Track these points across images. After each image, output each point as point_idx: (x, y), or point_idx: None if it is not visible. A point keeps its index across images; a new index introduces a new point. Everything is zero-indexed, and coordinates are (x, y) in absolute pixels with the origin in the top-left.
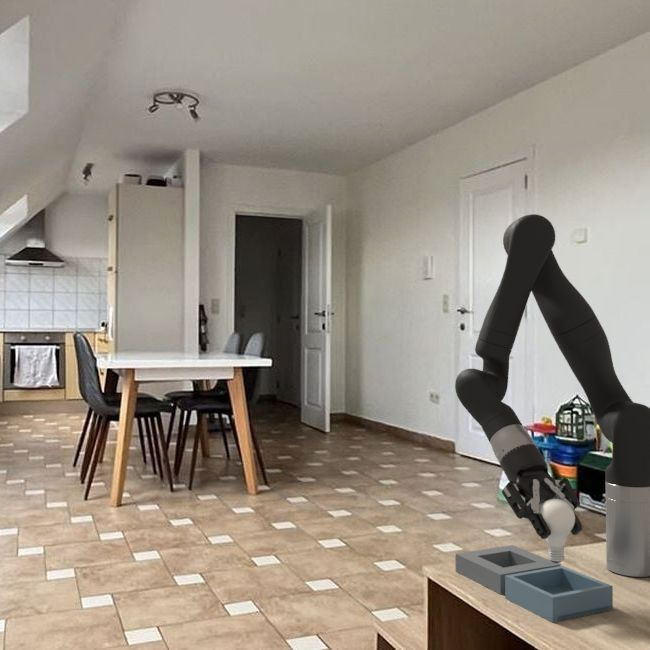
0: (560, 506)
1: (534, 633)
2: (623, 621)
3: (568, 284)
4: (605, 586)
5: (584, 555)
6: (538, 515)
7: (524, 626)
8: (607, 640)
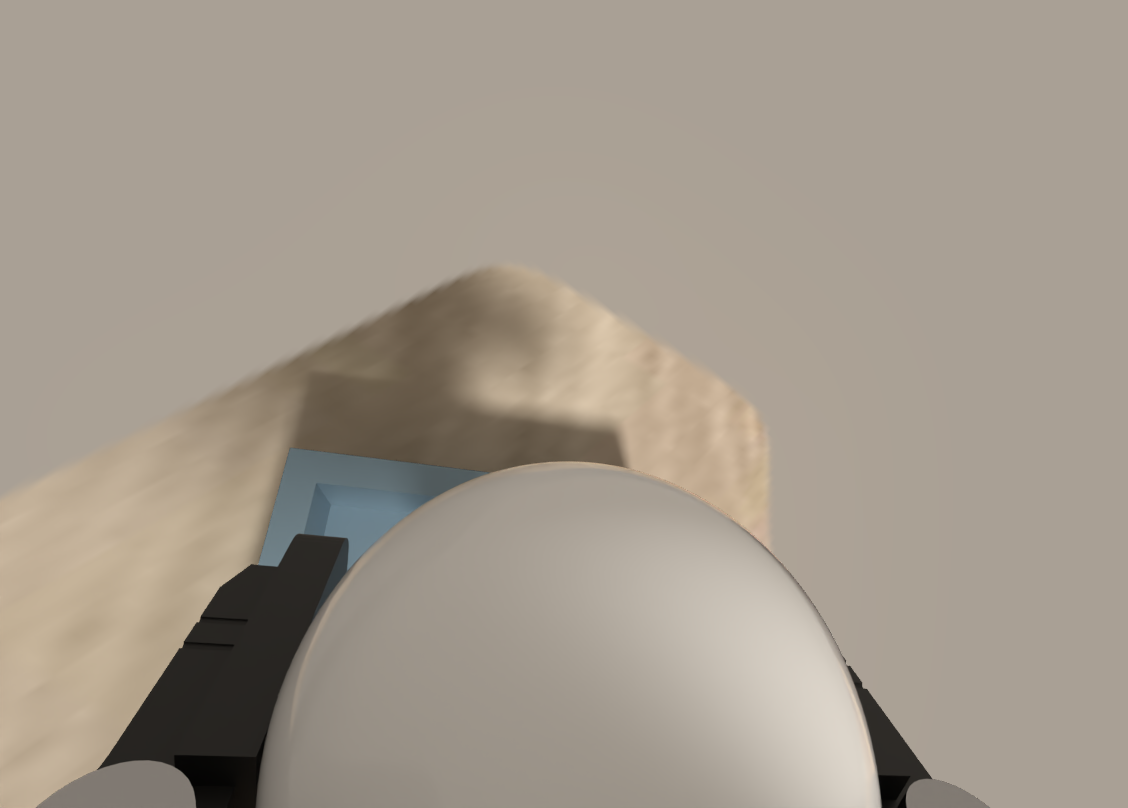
0: (716, 537)
1: (754, 485)
2: (393, 384)
3: None
4: (328, 463)
5: None
6: (893, 764)
7: None
8: (584, 326)
